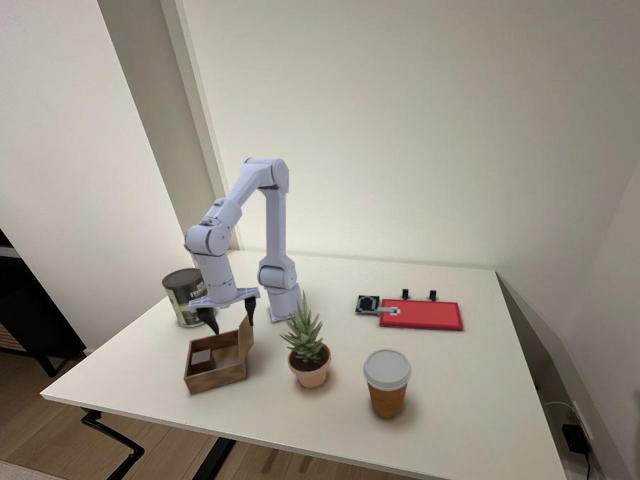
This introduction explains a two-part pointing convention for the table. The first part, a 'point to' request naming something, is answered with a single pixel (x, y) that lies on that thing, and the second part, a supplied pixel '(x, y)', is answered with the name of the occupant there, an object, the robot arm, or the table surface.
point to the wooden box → (216, 362)
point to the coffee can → (185, 293)
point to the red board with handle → (413, 312)
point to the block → (203, 361)
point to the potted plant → (307, 349)
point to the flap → (245, 337)
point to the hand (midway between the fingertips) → (234, 327)
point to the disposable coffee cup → (387, 380)
